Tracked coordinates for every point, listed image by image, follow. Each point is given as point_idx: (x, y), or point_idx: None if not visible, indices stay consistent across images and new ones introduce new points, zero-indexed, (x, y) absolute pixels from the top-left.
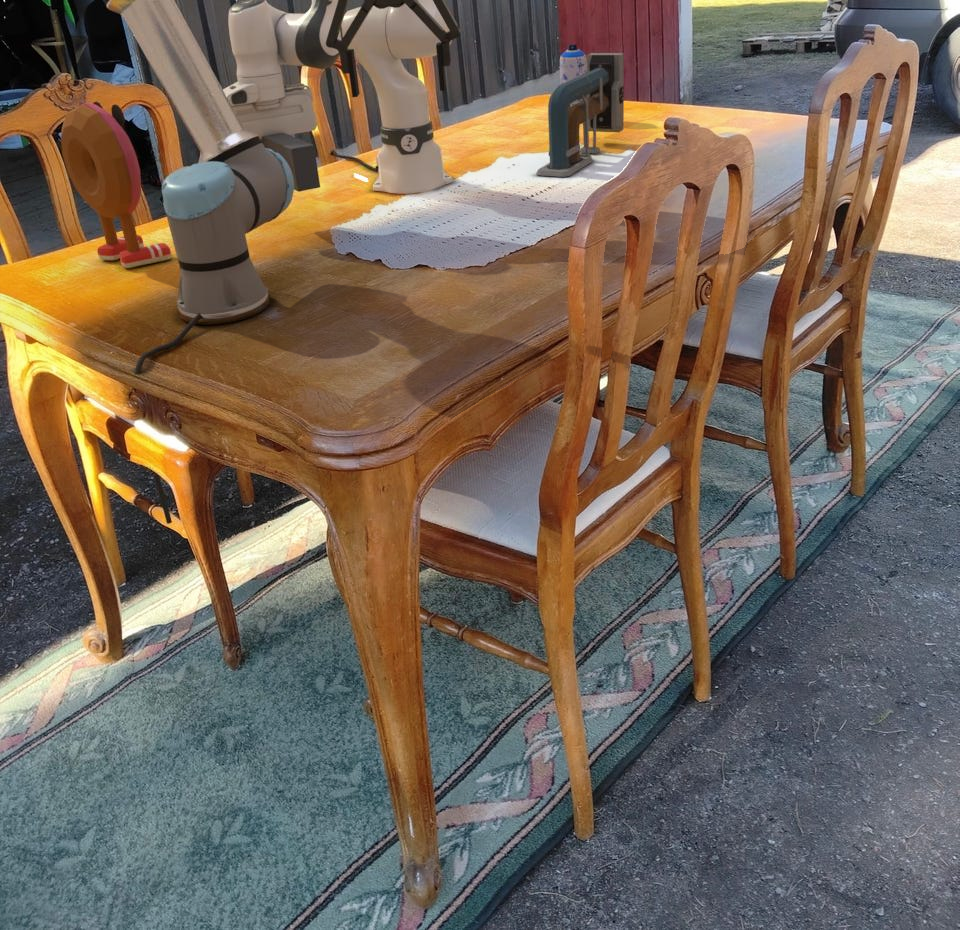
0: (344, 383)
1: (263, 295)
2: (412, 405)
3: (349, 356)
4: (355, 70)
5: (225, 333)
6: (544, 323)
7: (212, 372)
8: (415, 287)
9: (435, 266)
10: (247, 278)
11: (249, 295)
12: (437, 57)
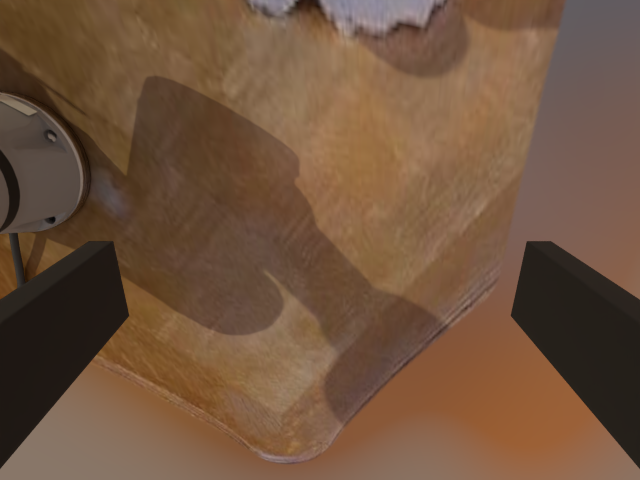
0: (263, 386)
1: (78, 177)
2: (334, 427)
3: (255, 332)
4: (45, 340)
5: None
6: (480, 277)
7: (112, 350)
8: (307, 118)
9: (334, 8)
10: (44, 200)
11: (64, 205)
12: (613, 433)
